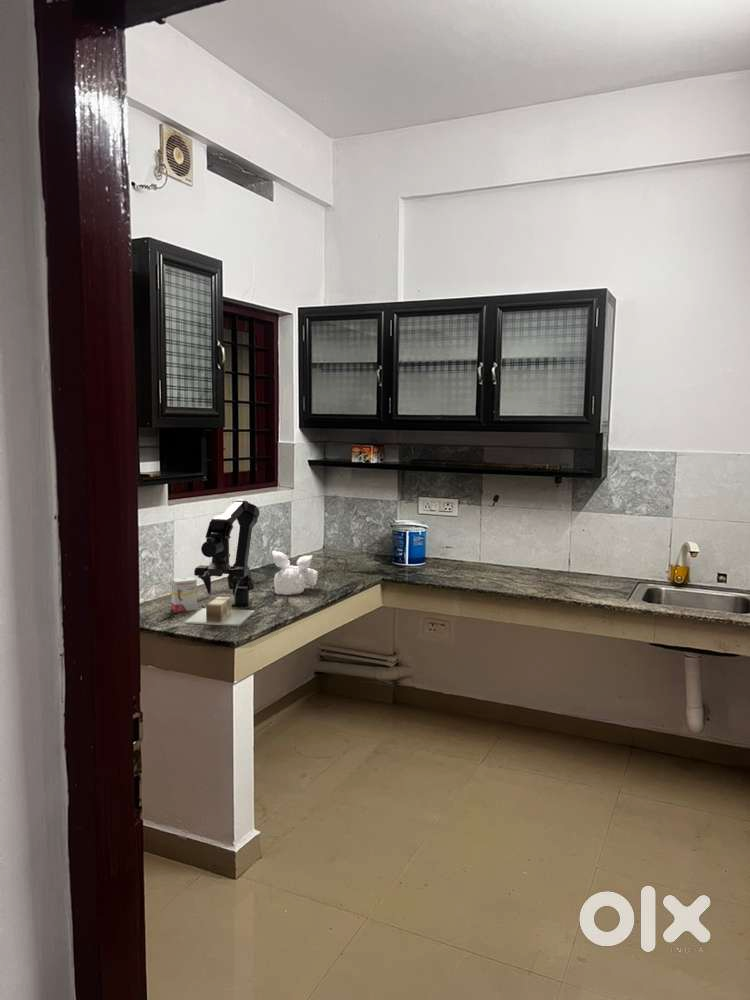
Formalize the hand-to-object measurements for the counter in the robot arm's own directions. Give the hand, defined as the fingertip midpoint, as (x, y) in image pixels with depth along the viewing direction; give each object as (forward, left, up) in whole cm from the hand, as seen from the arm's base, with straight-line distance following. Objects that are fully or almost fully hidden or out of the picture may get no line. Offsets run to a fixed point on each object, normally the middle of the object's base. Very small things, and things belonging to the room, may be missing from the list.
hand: (221, 594), depth 270 cm
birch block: (-3, 0, -5) cm, 6 cm away
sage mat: (+1, 0, -8) cm, 8 cm away
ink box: (-7, -17, -8) cm, 20 cm away
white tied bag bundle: (-45, +17, -9) cm, 49 cm away
